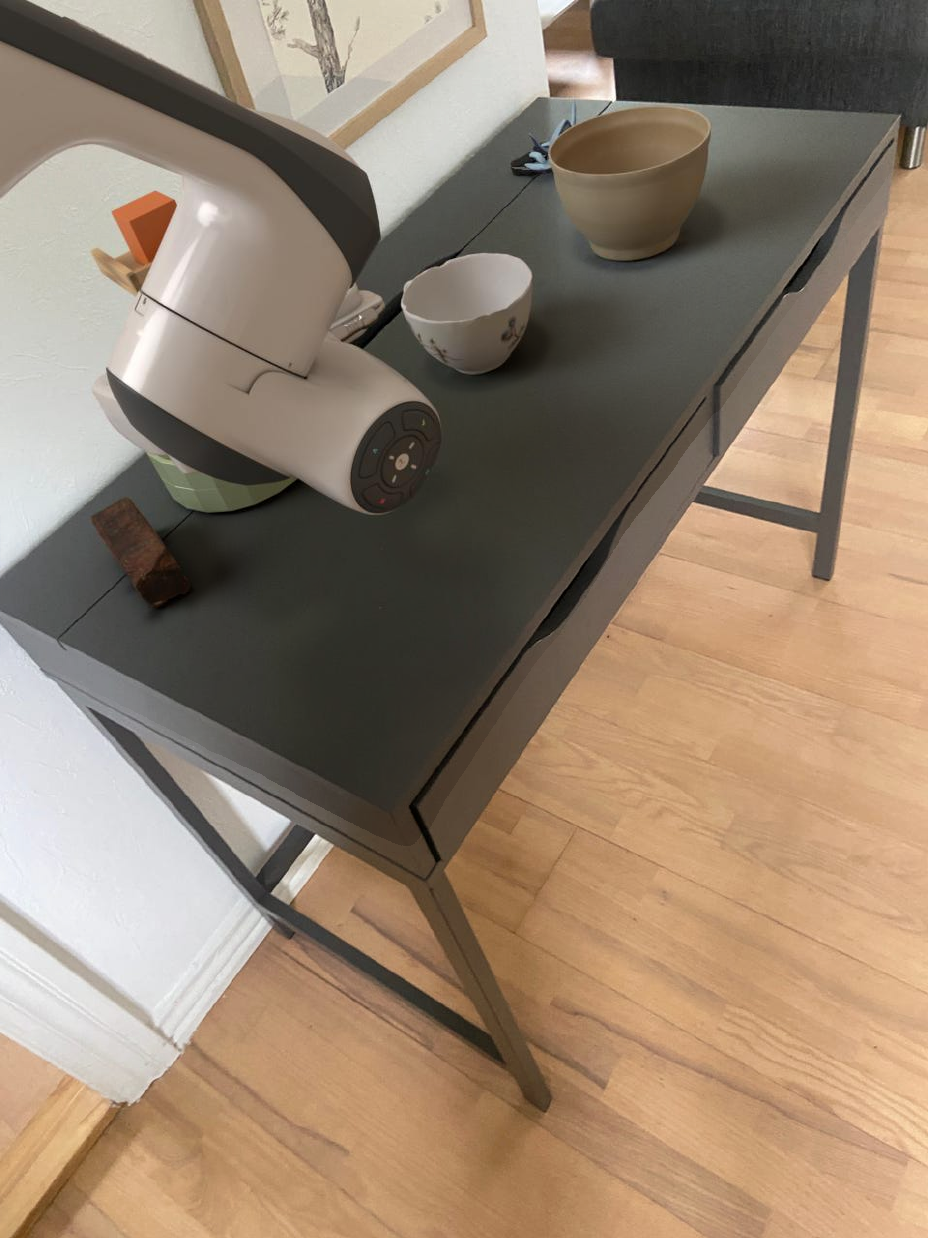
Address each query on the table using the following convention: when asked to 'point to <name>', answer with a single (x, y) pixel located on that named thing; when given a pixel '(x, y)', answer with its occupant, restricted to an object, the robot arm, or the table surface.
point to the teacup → (470, 310)
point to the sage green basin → (211, 488)
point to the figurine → (542, 150)
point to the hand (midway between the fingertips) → (192, 321)
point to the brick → (140, 552)
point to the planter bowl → (632, 177)
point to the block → (145, 224)
